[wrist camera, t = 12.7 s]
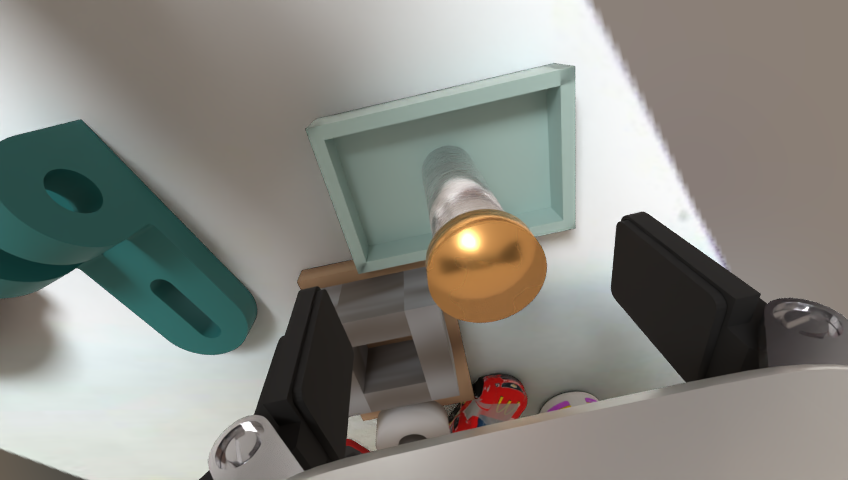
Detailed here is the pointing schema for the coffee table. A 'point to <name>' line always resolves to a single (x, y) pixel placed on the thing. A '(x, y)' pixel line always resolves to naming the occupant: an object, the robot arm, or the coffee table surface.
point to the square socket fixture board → (397, 349)
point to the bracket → (111, 239)
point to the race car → (490, 403)
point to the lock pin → (476, 244)
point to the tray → (457, 126)
